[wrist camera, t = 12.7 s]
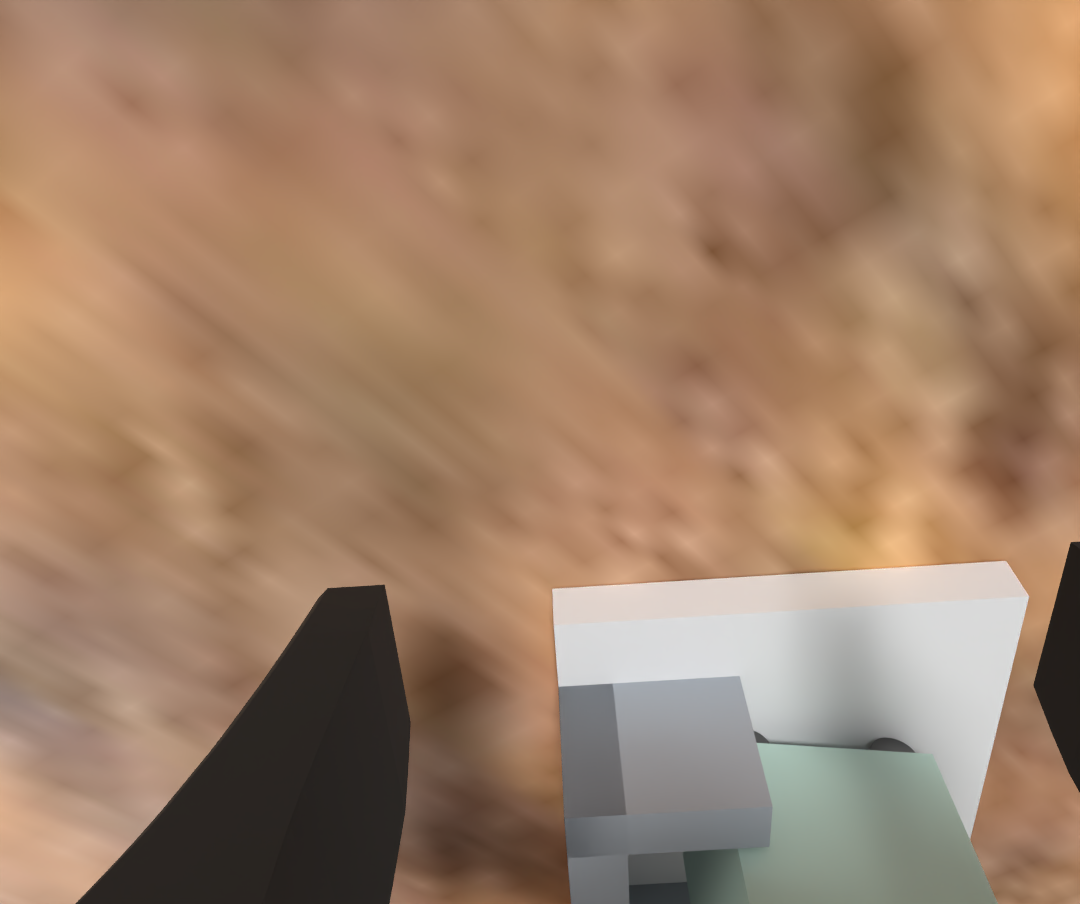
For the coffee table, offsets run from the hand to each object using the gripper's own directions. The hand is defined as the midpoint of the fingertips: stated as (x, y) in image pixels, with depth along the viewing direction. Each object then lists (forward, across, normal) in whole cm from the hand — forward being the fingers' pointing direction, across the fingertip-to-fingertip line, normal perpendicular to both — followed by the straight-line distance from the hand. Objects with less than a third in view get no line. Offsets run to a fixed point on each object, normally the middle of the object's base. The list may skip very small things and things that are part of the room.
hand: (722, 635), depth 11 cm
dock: (+9, -3, +13) cm, 16 cm away
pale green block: (+8, -4, +12) cm, 15 cm away
